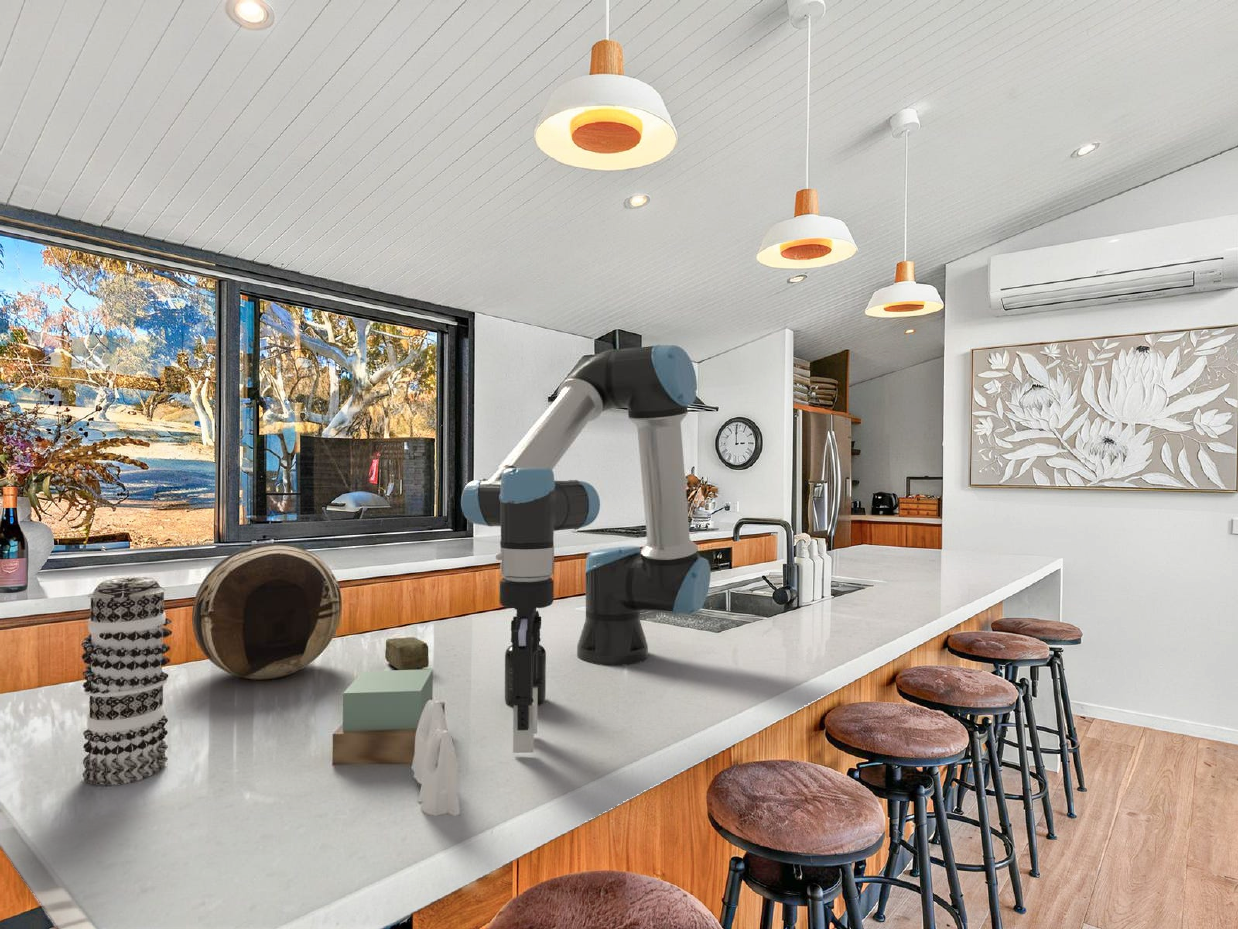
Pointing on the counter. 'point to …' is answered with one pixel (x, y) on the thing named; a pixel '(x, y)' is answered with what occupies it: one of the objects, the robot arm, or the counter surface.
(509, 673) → the supplement bottle
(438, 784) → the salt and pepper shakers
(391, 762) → the walnut base block
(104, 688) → the decorative candle
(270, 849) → the counter surface
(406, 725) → the sage top block
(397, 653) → the stone block
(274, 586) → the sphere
